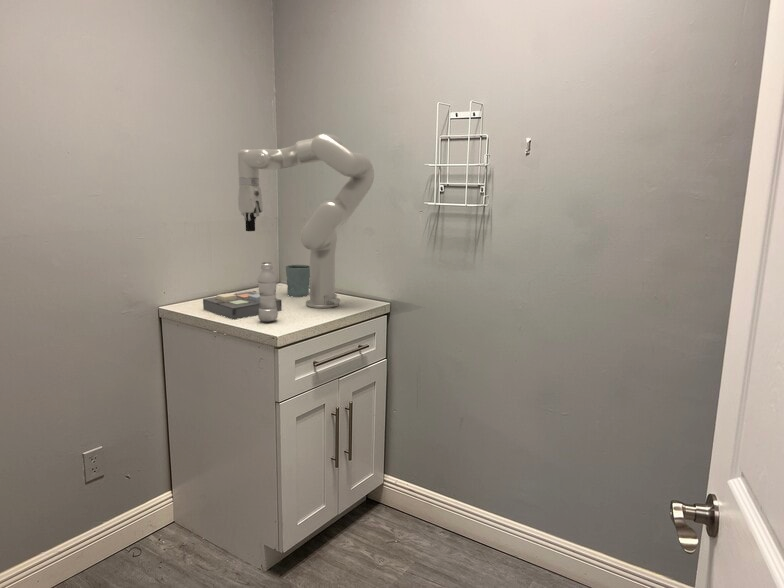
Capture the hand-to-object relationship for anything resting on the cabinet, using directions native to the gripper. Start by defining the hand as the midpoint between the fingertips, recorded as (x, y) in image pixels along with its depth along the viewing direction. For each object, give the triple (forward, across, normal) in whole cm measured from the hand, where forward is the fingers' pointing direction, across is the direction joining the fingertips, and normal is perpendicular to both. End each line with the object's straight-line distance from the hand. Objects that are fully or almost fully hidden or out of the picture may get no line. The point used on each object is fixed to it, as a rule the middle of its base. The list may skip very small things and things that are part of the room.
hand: (250, 230), depth 225 cm
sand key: (+24, -9, +17) cm, 31 cm away
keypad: (+27, -13, +13) cm, 33 cm away
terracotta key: (+25, -9, +9) cm, 28 cm away
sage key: (+25, -17, +17) cm, 35 cm away
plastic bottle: (+27, -33, +16) cm, 46 cm away
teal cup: (+27, -5, -19) cm, 34 cm away
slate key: (+24, -17, +9) cm, 31 cm away
